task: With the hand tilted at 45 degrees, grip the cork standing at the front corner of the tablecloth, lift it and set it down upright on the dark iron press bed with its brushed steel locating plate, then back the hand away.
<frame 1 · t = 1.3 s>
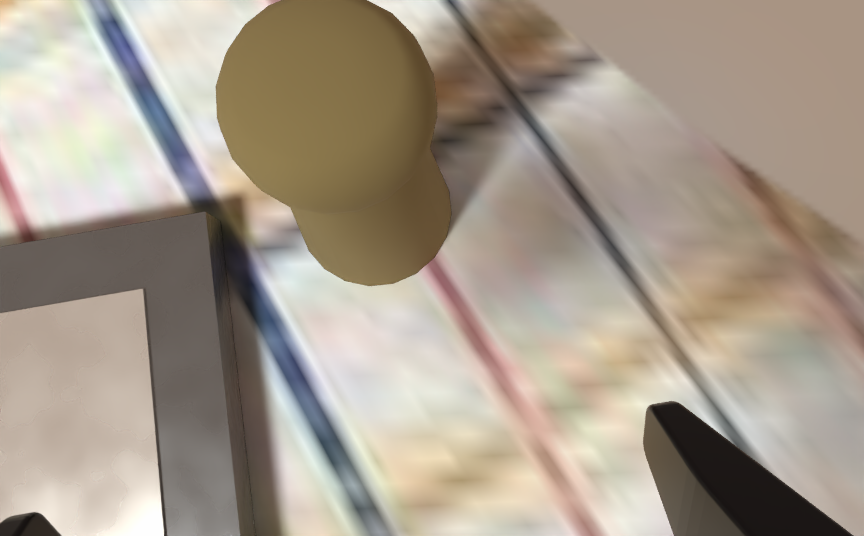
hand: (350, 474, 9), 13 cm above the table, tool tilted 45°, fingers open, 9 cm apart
cork: (375, 211, 24), on the table
press bed: (55, 432, 22), on the table
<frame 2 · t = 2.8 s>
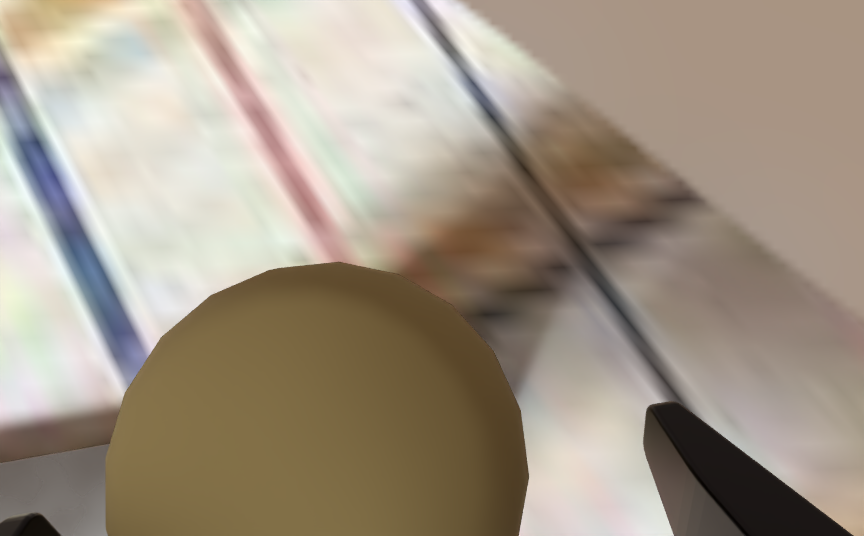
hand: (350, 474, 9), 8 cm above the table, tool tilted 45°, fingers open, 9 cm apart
cork: (391, 415, 17), on the table
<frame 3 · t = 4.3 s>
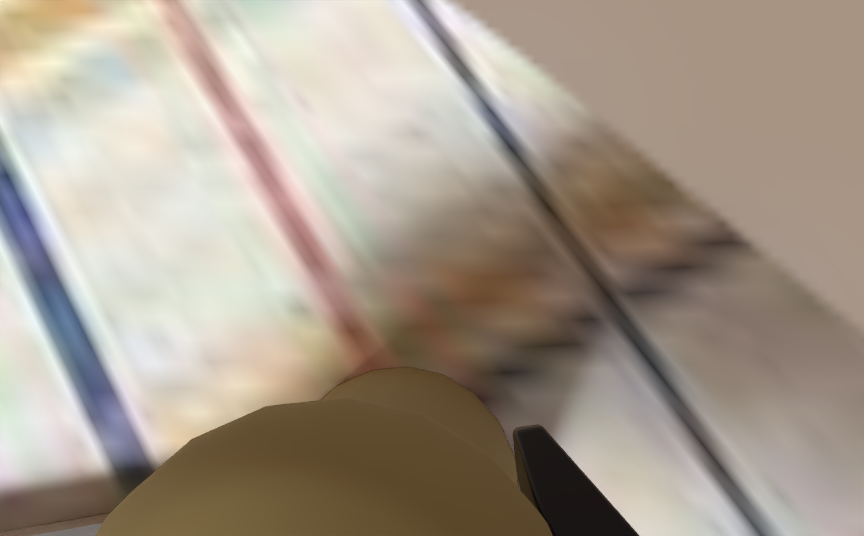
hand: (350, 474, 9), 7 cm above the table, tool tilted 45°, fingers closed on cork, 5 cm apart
cork: (399, 486, 15), on the table, touching gripper
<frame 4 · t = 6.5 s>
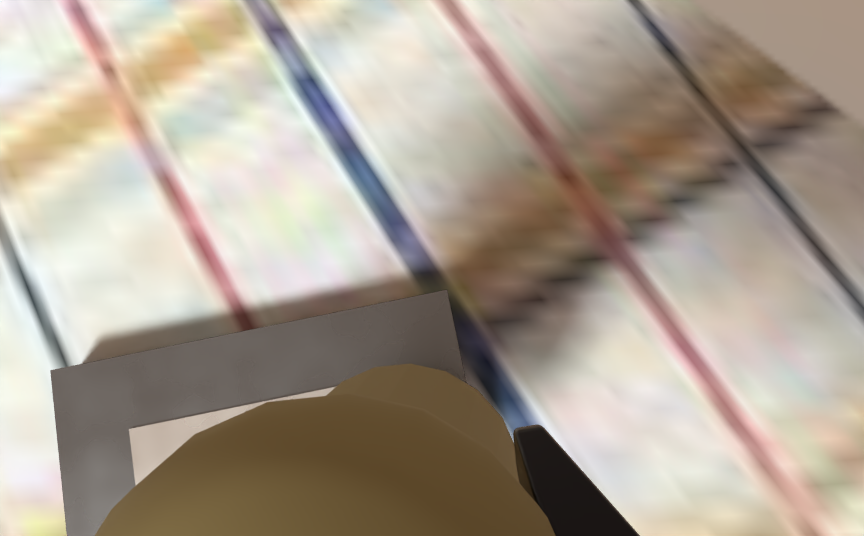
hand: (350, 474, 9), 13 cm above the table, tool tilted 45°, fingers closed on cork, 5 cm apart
cork: (403, 482, 15), point 6 cm above the table, touching gripper
press bed: (292, 526, 21), on the table
when the fingers open (9 cm above the table, at t = 8.6 s): cork drops 1 cm, resting on press bed.
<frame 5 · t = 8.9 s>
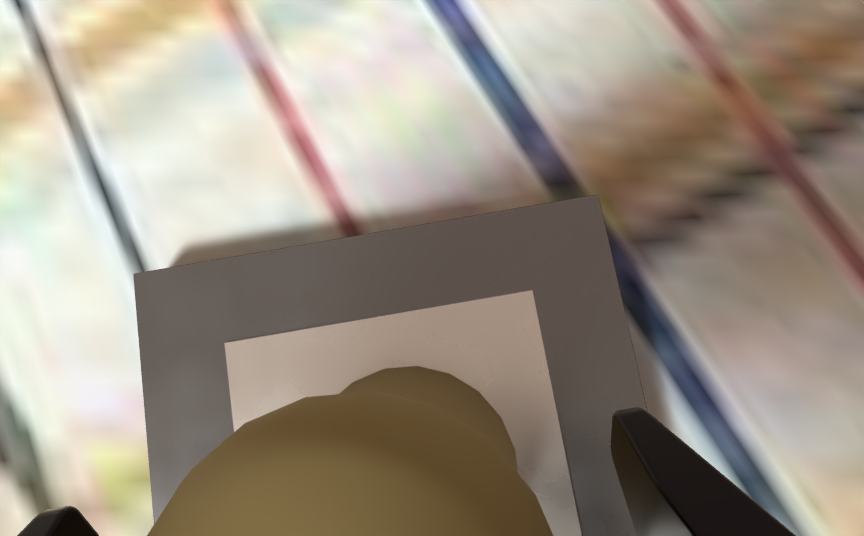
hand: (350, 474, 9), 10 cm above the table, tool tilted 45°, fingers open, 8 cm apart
cork: (409, 475, 17), point 1 cm above the table, touching press bed
press bed: (407, 468, 18), on the table
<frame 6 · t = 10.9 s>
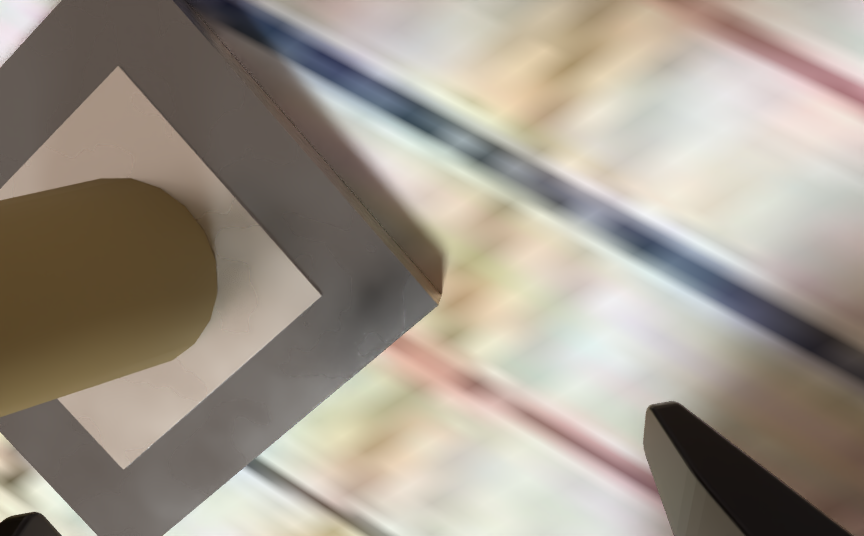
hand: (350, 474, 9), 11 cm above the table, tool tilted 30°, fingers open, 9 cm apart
cork: (127, 274, 19), point 1 cm above the table, touching press bed
press bed: (149, 270, 20), on the table
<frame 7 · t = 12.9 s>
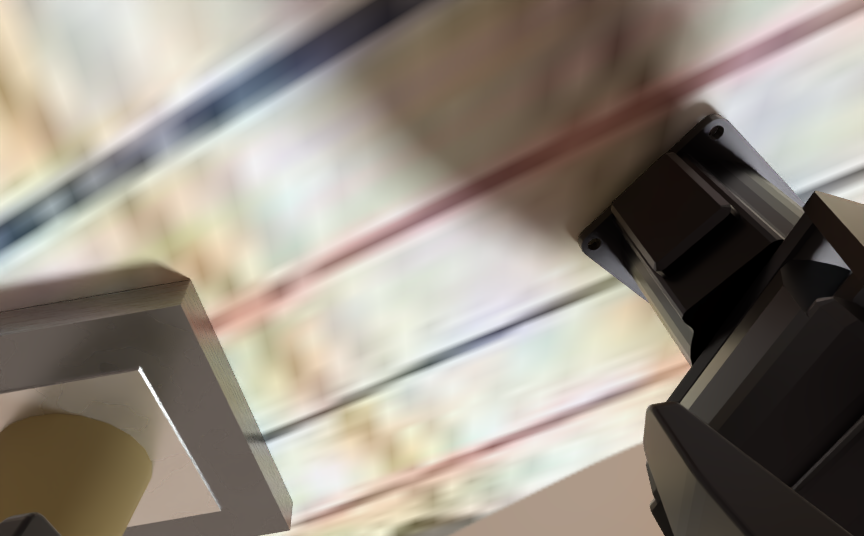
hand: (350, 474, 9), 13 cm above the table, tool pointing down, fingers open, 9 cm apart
cork: (76, 460, 25), point 1 cm above the table, touching press bed
press bed: (90, 435, 26), on the table
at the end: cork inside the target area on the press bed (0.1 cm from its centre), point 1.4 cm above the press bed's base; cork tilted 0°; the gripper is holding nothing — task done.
